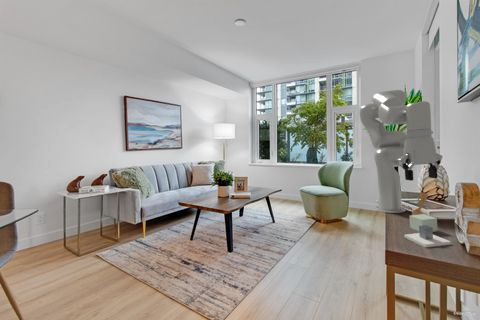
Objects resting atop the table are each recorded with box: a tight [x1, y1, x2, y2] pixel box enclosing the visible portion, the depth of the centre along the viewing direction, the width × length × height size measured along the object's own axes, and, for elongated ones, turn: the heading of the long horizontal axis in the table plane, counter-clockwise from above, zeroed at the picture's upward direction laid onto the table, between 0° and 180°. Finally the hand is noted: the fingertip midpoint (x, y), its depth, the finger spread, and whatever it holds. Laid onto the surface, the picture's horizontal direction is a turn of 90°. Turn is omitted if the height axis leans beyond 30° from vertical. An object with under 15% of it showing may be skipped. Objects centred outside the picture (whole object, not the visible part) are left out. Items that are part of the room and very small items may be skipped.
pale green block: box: [409, 213, 438, 232], centre depth 92 cm, size 6×6×5 cm
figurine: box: [411, 191, 429, 215], centre depth 104 cm, size 8×6×12 cm
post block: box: [403, 225, 452, 248], centre depth 82 cm, size 9×9×5 cm
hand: (421, 179), depth 91 cm, fingers open, 9 cm apart
